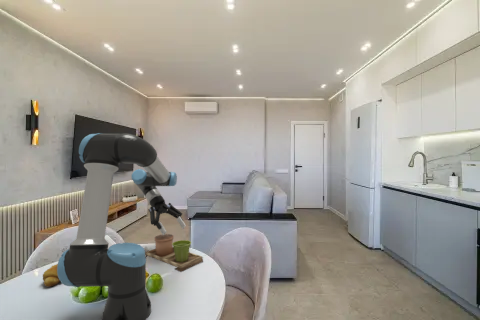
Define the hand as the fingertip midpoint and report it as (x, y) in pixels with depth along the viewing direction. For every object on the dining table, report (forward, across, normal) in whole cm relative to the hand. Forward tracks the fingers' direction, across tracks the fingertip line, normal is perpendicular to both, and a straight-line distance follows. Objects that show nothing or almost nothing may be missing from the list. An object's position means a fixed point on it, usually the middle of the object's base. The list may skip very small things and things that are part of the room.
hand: (175, 230), depth 131 cm
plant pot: (+14, 0, -6) cm, 15 cm away
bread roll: (-8, +42, -31) cm, 53 cm away
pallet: (+10, 0, -13) cm, 16 cm away
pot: (+3, -1, -17) cm, 17 cm away
